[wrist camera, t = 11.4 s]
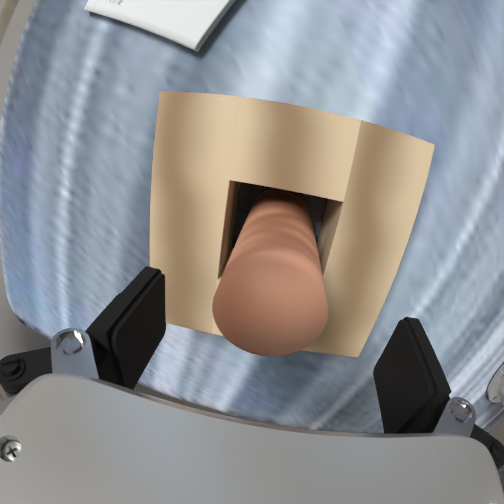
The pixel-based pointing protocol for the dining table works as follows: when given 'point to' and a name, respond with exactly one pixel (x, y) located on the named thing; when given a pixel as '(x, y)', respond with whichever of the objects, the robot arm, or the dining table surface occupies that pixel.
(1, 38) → the dining table surface
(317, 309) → the peg
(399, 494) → the robot arm
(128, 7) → the external hard drive
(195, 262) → the socket block
